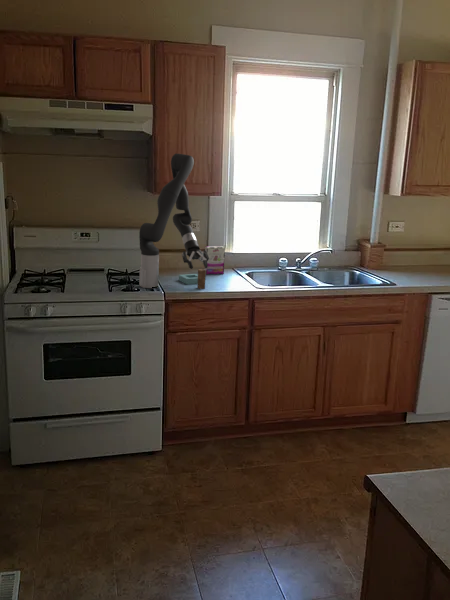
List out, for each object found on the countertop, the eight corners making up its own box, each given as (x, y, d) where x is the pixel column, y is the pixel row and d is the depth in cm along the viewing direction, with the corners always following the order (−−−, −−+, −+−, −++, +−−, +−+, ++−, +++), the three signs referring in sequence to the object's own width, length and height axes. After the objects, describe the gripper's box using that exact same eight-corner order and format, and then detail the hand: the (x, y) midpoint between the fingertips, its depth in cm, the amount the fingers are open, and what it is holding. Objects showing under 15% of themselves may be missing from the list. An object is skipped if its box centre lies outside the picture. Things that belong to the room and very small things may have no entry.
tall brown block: (199, 288, 300) (200, 270, 297) (197, 287, 302) (198, 269, 300) (204, 288, 301) (205, 270, 299) (202, 287, 304) (203, 269, 301)
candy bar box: (221, 272, 345) (223, 246, 341) (224, 274, 341) (225, 247, 337) (204, 272, 342) (205, 245, 338) (205, 274, 338) (207, 247, 334)
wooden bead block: (186, 284, 309) (187, 278, 308) (178, 280, 318) (178, 274, 317) (204, 283, 314) (205, 277, 313) (196, 279, 323) (196, 273, 323)
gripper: (180, 239, 303) (189, 264, 296) (204, 238, 309) (213, 263, 303) (176, 247, 308) (184, 272, 302) (200, 246, 315) (208, 271, 308)
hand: (199, 267), depth 302 cm, fingers open, 8 cm apart
